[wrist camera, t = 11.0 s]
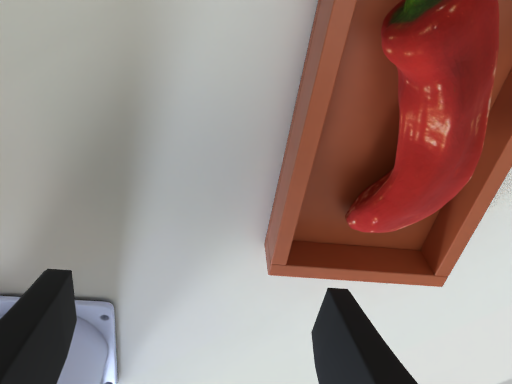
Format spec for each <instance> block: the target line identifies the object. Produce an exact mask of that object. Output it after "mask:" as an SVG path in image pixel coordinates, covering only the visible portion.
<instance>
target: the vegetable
mask: <svg viewBox="0 0 512 384" xmlns="http://www.w3.org/2000/svg"><path fill="white" fill-rule="evenodd" d="M381 38H382V43H381V45H382V49H383V52H384V54H385V55H386V57H387V58H388V59H389V60H390V61H391V62H392V63H393V64H395V65H396V67H397V70H398V101H399V111H400V120H399V134H398V143H397V151H396V160H395V165H394V168H393V169H392V170H391V171H390V172H388V173H387V174H386V175H385V176H383V177H382V178H380V179H379V180H377V181H376V182H374V183H373V184H372V185H370V186H369V187H368V188H366V189H365V190H364V191H363V192H362V193H361V194H360V195H359V196H358V197H357V198H356V200H355V201H354V203H353V204H352V205H351V207H350V208H349V210H348V212H347V213H346V215H345V219H346V222H347V223H348V225H349V227H350V228H351V229H355V230H358V231H361V232H368V233H385V232H393V231H396V230H399V229H401V228H404V227H406V226H409V225H411V224H414V223H416V222H418V221H420V220H422V219H424V218H426V217H428V216H430V215H432V214H433V213H435V212H436V211H437V210H439V209H440V208H441V207H443V206H444V205H445V204H446V203H447V202H449V201H450V200H451V199H452V198H453V197H455V196H456V195H457V194H458V193H459V191H460V190H461V189H462V188H463V187H464V186H465V185H466V184H467V183H468V181H469V180H470V178H471V177H472V175H473V173H474V171H475V168H476V166H477V164H478V161H479V159H480V156H481V153H482V150H483V146H484V140H485V134H486V128H487V122H488V116H489V110H490V104H491V98H492V91H493V85H494V79H495V74H496V68H497V60H498V51H499V3H498V0H402V1H401V2H399V3H398V4H397V5H396V6H395V7H393V8H392V9H391V10H390V11H389V13H388V14H387V15H386V17H385V18H384V20H383V24H382V28H381Z"/></svg>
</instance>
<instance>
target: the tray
mask: <svg viewBox="0 0 512 384" xmlns="http://www.w3.org/2000/svg"><path fill="white" fill-rule="evenodd" d="M401 1H402V0H318V4H317V9H316V14H315V18H314V23H313V27H312V32H311V36H310V41H309V45H308V50H307V54H306V59H305V63H304V68H303V72H302V77H301V81H300V86H299V90H298V95H297V99H296V104H295V108H294V113H293V118H292V122H291V127H290V131H289V136H288V140H287V145H286V149H285V154H284V158H283V163H282V167H281V172H280V176H279V181H278V185H277V190H276V194H275V199H274V203H273V208H272V212H271V217H270V221H269V226H268V231H267V235H266V240H265V252H266V260H267V269H268V275H274V276H289V277H304V278H319V279H334V280H349V281H364V282H378V283H393V284H408V285H423V286H438V287H442V286H443V285H444V283H445V281H446V279H447V278H448V276H449V274H450V273H451V271H452V269H453V267H454V266H455V264H456V262H457V261H458V259H459V257H460V255H461V254H462V252H463V250H464V248H465V247H466V245H467V243H468V241H469V240H470V238H471V236H472V234H473V233H474V231H475V229H476V228H477V226H478V224H479V222H480V221H481V219H482V217H483V215H484V214H485V212H486V210H487V208H488V207H489V205H490V203H491V202H492V200H493V198H494V196H495V195H496V193H497V191H498V189H499V188H500V186H501V184H502V182H503V181H504V179H505V177H506V175H507V174H508V172H509V170H510V169H511V167H512V0H498V3H499V51H498V60H497V68H496V74H495V79H494V85H493V91H492V98H491V104H490V110H489V116H488V122H487V128H486V134H485V140H484V146H483V150H482V153H481V156H480V159H479V161H478V164H477V166H476V168H475V171H474V173H473V175H472V177H471V178H470V180H469V181H468V183H467V184H466V185H465V186H464V187H463V188H462V189H461V190H460V191H459V193H458V194H457V195H456V196H455V197H453V198H452V199H451V200H450V201H449V202H447V203H446V204H445V205H444V206H443V207H441V208H440V209H439V210H437V211H436V212H435V213H433V214H432V215H430V216H428V217H426V218H424V219H422V220H420V221H418V222H416V223H414V224H411V225H409V226H406V227H404V228H401V229H399V230H396V231H393V232H385V233H368V232H361V231H358V230H355V229H351V228H350V227H349V225H348V223H347V222H346V219H345V215H346V213H347V212H348V210H349V208H350V207H351V205H352V204H353V203H354V201H355V200H356V198H357V197H358V196H359V195H360V194H361V193H362V192H363V191H364V190H365V189H366V188H368V187H369V186H370V185H372V184H373V183H374V182H376V181H377V180H379V179H380V178H382V177H383V176H385V175H386V174H387V173H388V172H390V171H391V170H392V169H393V168H394V165H395V160H396V151H397V143H398V134H399V120H400V111H399V101H398V70H397V67H396V65H395V64H393V63H392V62H391V61H390V60H389V59H388V58H387V57H386V55H385V54H384V52H383V49H382V45H381V43H382V38H381V28H382V24H383V20H384V18H385V17H386V15H387V14H388V13H389V11H390V10H391V9H392V8H393V7H395V6H396V5H397V4H398V3H399V2H401Z"/></svg>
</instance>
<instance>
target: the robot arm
mask: <svg viewBox="0 0 512 384" xmlns="http://www.w3.org/2000/svg"><path fill="white" fill-rule="evenodd" d="M312 342H313V352H314V360H315V368H316V372H317V377H318V381H319V384H418V383H417V382H416V381H415V380H414V378H413V377H412V376H411V375H410V374H409V372H408V371H407V370H406V369H405V367H404V366H403V365H402V364H401V362H400V361H399V360H398V358H397V357H396V356H395V354H394V353H393V352H392V350H391V349H390V348H389V346H388V345H387V344H386V343H385V341H384V340H383V338H382V337H381V336H380V334H379V333H378V332H377V330H376V329H375V327H374V326H373V325H372V323H371V322H370V320H369V319H368V317H367V316H366V315H365V313H364V312H363V310H362V309H361V307H360V306H359V304H358V303H357V302H356V300H355V299H354V297H353V296H352V294H351V293H350V292H349V290H348V289H338V288H328V289H327V292H326V294H325V297H324V300H323V302H322V305H321V308H320V311H319V313H318V316H317V319H316V322H315V324H314V327H313V330H312ZM0 384H118V379H117V358H116V337H115V317H114V306H113V305H112V304H111V303H109V302H102V301H84V300H75V298H74V289H73V280H72V271H71V270H57V269H47V270H46V271H44V272H43V273H42V274H41V275H40V277H39V278H38V279H37V280H36V281H35V282H34V283H33V284H32V286H31V287H30V288H29V289H28V290H27V291H26V292H25V293H24V294H23V296H22V297H12V296H0Z"/></svg>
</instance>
